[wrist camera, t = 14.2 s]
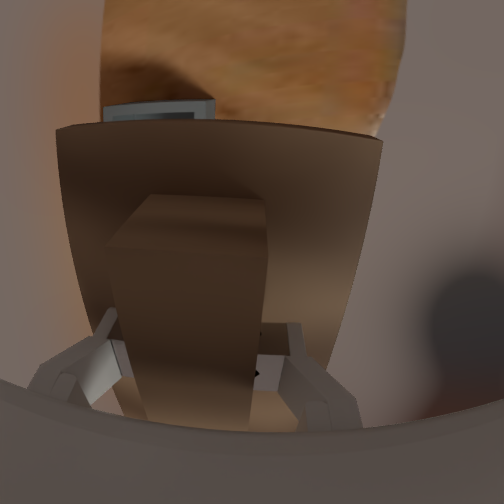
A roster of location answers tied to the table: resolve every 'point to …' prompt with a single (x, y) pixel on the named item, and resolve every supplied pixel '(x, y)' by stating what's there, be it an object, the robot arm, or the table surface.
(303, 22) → the table surface
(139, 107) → the toolbox
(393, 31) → the table surface
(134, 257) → the toolbox lid
